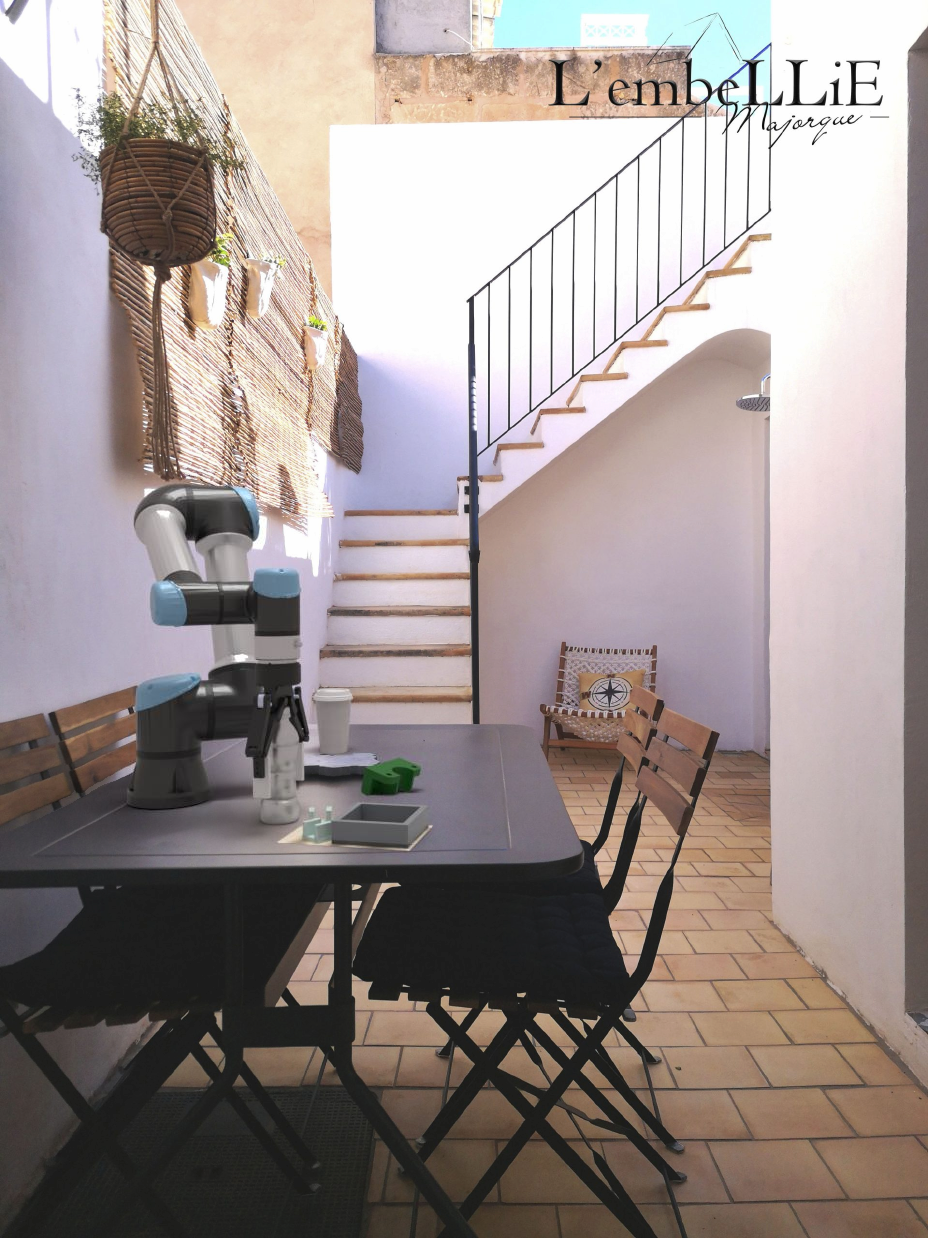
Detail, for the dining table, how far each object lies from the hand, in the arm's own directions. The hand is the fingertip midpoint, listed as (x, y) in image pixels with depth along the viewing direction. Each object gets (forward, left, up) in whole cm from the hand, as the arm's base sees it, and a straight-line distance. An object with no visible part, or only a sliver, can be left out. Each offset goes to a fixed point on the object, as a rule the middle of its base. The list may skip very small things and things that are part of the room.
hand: (279, 788), depth 148 cm
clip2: (+10, -9, -5) cm, 15 cm away
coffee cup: (-15, +65, -7) cm, 67 cm away
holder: (+19, -5, -5) cm, 21 cm away
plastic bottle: (0, 0, -7) cm, 7 cm away
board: (+15, -5, -6) cm, 17 cm away
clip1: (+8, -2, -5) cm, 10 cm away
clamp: (+11, +26, -7) cm, 29 cm away
